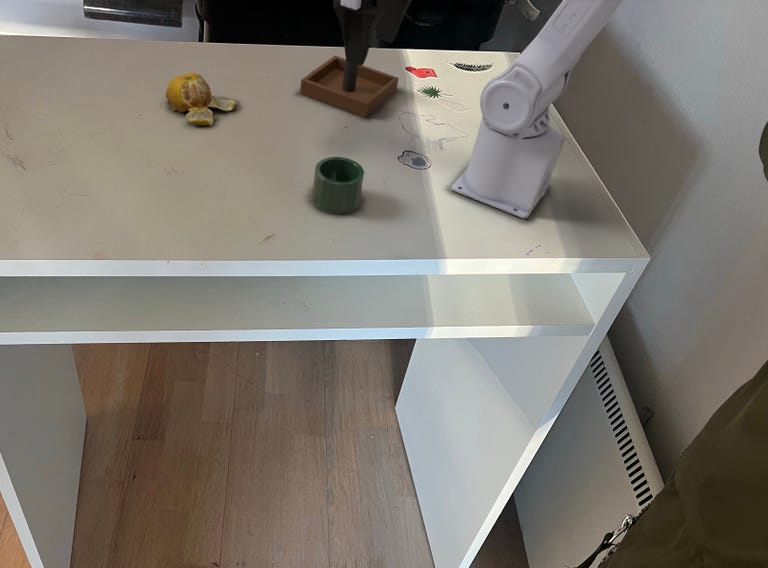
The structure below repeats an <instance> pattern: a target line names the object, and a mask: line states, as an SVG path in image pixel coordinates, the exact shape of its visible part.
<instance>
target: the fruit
mask: <svg viewBox="0 0 768 568" xmlns="http://www.w3.org/2000/svg"><path fill="white" fill-rule="evenodd" d="M165 98H166V100H167V101H168V103H169V104H170V108H171V109H173V111H174V112H176V111H177V112H178V113H184V112H186V111H189V112H188V113H186V115H185V118H186V121H187V122H188V123H190V124H197V125H200V126H213V123H214V122H215V121H214V119H213V116H214V112H213V111H212V110H211V109H210V107H212V108H216V109H218V110H221V111H224V112H229V111H232V110H234V109H235V108H236V107H237V105H238V103H237V101H236V100H232V99H224V98H221V97H215V96H212V91H211V88H210V86H209V84H208V83H207V81H206V80H205V78H203V76H202V75H201V74H199V73H194V72H189V73H183V74H181V75H178V76H176V77H174V78H172V79H171V80H170V82H169V83H168V85H167V87H166V91H165Z"/></svg>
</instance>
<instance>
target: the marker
mask: <svg viewBox="0 0 768 568" xmlns="http://www.w3.org/2000/svg"><path fill="white" fill-rule="evenodd" d="M358 66H359V65H357V64H354V63H351V62H348V61H346V62H345V70H344V77H343V85H342V89H343V90H344V91H346V92H353V91H355V87H356V80H357V73H358Z"/></svg>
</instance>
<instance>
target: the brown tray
mask: <svg viewBox="0 0 768 568" xmlns="http://www.w3.org/2000/svg"><path fill="white" fill-rule="evenodd" d="M345 62H346V58H344V57H341V56H338V55H333V56H332V57H330V58H329V59H328V60H326V61H324V62H323V63H322V64H321V65H320V66H318V67H316V68H315V69H314V70H313V71H311V72H310V73H308V74H307V75H306V76H304V77H303V78H302V79H301V81H300V90H299V91H300V92H299V94H300V95H303V96H306V97H308V98H312V99H314V100H316V101H319V102H322V103H324V104H327V105H330V106H332V107H335V108H338V109H340V110H343V111H345V112H349V113H351V114H354V115H356V116H359V117H361V118H365V119H366V118H367V117H369V115H371V114H372V113H373V112H374V111H375V110H377V109H378V108H379V107H380V106H381V105H382V104H384V103H385V102H386V101H387V100H388V99H389V98H391V96H393V95H394V94H395V93H396V92H397V89H398V84H399V77H397V76H394V75H392V74H388V73H386V72H384V71H380V70H377V69H375V68H372V67H369V66H366V65H364V64H363V65H361V66H358V73H357V80H356V87H355V91H353V92H346V91H344V90H343V89H342V85H343V77H344V70H345Z"/></svg>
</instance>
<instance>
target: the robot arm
mask: <svg viewBox="0 0 768 568" xmlns="http://www.w3.org/2000/svg"><path fill="white" fill-rule="evenodd" d="M412 1H413V0H376V5H373V1H371V0H333V3H332V7H333V9H334V11H335V13H336V16H337V19H338V21H339V25H340V28H341V32H342V33H341V34H342V39H343V46H344V47H343V48H344V55H345V59H346V61H348V62H351V63H354V64H357V65H359V66H361V65H363V66H364V65H365V62H366V59H367V57H368V53H369V49H370V46H371V42H372V38H373V35H374V33H375V37H376V39H378V40H380V41H383V42H386V43H390V44H392V43H393V42H394V41H395V39H396V37H397V35H398V32H399V30H400V27H401V25H402V22H403V20H404V17H405V15H406V12H407V11H408V8H409V6H410V5H411V3H412ZM625 1H626V0H562V1H561V3H560V4H558V5H559V6H557V8H556V9H555V11H554V12H553V14H551V16H550V17H549V19H548V20H547V21H546V23H545V25H543V27H542V28H541V30H540V31H539V32H538V34H537V35H536V36H535V38H534V39H533V40H531V42H530V43H529V44H528V45H527V46H526V47H525V49H523V51H522V52H521V53H520V54H519V55H518V56H517V57H516V58H515V60H514V61H513V63H511V65H510V66H509V67H508V68H506V69H505V70H504V71H502V72H501V73H500V74H498V75H496V76H495V77H493V78H491V79H490V80H489V81H488V82H487V83H486V84H485V85H484V87H483V89H482V90H481V94H480V98H479V109H480V112H481V120H480V123H479V127H478V130H477V134H476V137H475V140H474V144H473V147H472V152H471V155H470V158H469V162H468V165H467V168H466V169H465V170H464V171H463V172H462V173H461V175H460V176H459V177H458V178H457V180H456V181H454V183H453V184H452V186H451V190H452V191H453V192H455V193H458V194H460V195H463V196H465V197H468V198H471V199H473V200H476V201H477V202H480V203H483V204H486V205H488V206H491V207H493V208H496V209H498V210H502V211H503V212H505V213H508V214H511V215H514V216H516V217H518V218H521V219H527V218H528V217H529V216H530V215H531V213H532V211H533V210H534V209H535V207H536V206H537V204H538V203H539V201H540V200H541V199H542V197H544V196H545V194H546V192H547V190H548V187H549V185H550V181H551V178H552V175H553V173H554V170H555V168H556V165H557V163H558V160H559V157H560V156H561V153H562V150H563V147H564V143H565V140H566V137H565V135H563V134H561V133H559V132H558V131H557V130H554V129H553V128H552V127H551V126H550V106H551V105H552V104H553V103H554V102H555V101H557V100H559V99H560V98H561V97H562V96H563V94H564V93H565V91H566V90H567V87H568V84H569V80H570V76H571V72H572V71H573V69H574V67H575V66H576V65H577V64H578V62H579V61H580V60H581V58H582V54H583V53H584V52H585V50H586V49H587V48H588V47H589V45H590V44H591V43H592V42H593V41H594V40H595V38H596V37H597V35H598V34H599V33H600V32H601V30H602V29H603V28H604V27H605V26H606V25H607V23H608V22H609V21H610V20H611V18H612V17H613V16H614V15H615V13H616V12H617V11H618V10H619V8H620V7H621V6H622V5H623V4H624V2H625Z"/></svg>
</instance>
